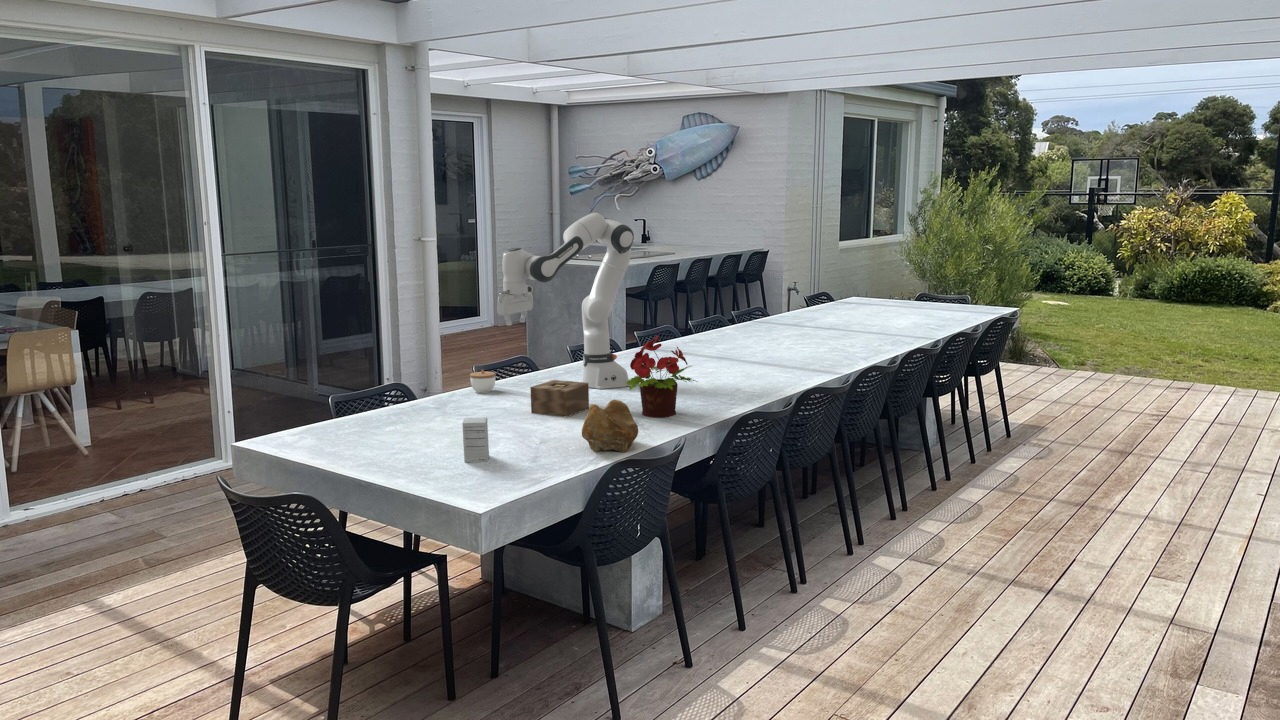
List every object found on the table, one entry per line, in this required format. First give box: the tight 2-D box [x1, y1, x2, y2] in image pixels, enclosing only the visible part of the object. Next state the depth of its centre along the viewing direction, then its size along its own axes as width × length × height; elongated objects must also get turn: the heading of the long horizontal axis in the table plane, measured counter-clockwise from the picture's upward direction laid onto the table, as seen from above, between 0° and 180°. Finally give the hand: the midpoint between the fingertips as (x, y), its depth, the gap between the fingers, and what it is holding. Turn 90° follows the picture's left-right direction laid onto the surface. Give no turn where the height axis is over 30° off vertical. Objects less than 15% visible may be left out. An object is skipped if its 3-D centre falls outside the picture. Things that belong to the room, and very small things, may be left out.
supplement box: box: [462, 416, 490, 463], centre depth 298 cm, size 7×7×13 cm
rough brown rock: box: [581, 399, 639, 453], centre depth 308 cm, size 23×17×15 cm
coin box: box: [530, 379, 590, 418], centre depth 364 cm, size 16×16×10 cm
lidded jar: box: [469, 369, 497, 394], centre depth 404 cm, size 11×11×9 cm
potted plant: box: [626, 335, 700, 419], centre depth 352 cm, size 30×27×30 cm
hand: (515, 323), depth 380 cm, fingers open, 8 cm apart
